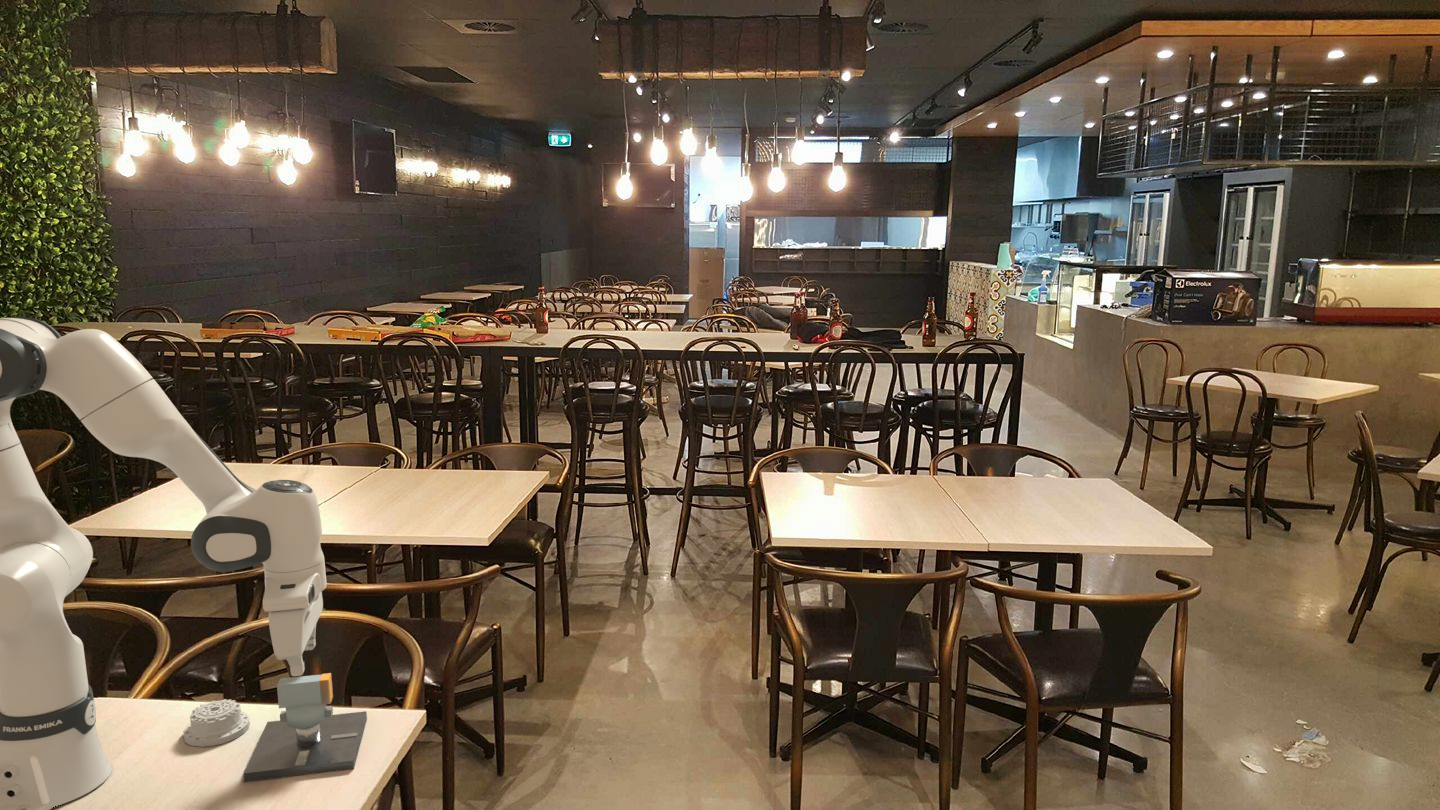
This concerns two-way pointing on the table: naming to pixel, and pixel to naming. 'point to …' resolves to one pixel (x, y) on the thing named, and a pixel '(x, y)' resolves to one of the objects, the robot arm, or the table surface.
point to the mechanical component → (216, 723)
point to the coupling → (305, 700)
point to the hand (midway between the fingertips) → (304, 660)
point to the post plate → (307, 748)
